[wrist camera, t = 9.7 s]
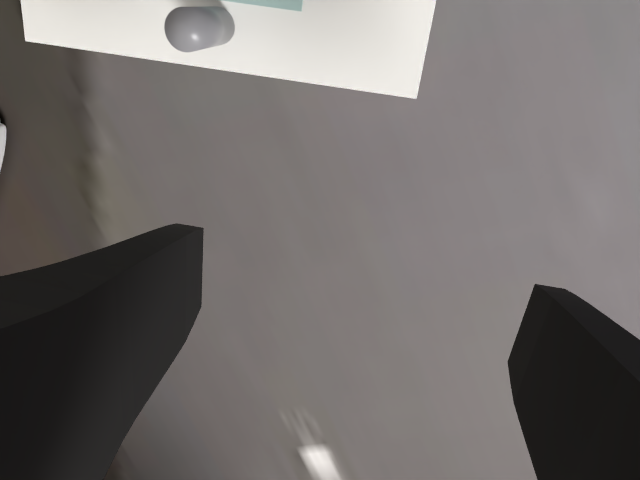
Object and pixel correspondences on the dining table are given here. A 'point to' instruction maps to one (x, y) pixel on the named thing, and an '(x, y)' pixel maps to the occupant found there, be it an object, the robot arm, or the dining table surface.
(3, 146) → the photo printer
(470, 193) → the dining table surface
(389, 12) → the dock
